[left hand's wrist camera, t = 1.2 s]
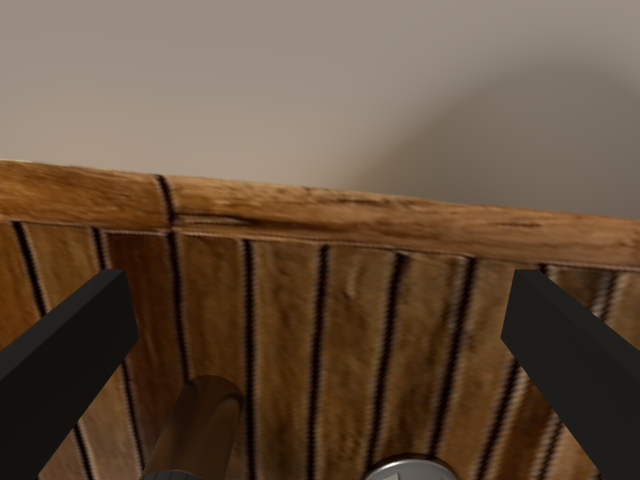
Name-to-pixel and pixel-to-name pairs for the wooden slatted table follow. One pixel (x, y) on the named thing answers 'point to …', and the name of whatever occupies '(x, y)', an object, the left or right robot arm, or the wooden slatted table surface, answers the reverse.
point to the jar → (199, 430)
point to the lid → (170, 476)
